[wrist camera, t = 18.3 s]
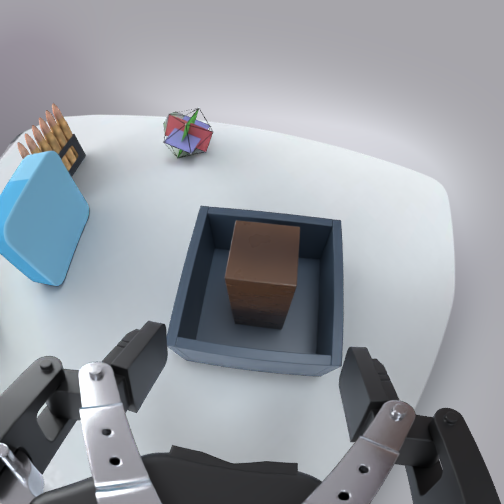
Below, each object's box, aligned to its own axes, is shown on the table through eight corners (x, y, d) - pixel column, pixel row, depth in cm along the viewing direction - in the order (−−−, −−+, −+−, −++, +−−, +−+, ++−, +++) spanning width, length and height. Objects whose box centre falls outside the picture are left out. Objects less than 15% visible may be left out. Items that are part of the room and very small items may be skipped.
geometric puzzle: (232, 129, 39) (196, 89, 34) (214, 159, 35) (172, 115, 31) (199, 147, 43) (165, 112, 38) (181, 176, 40) (142, 139, 35)
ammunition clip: (78, 155, 41) (52, 101, 31) (86, 155, 41) (60, 99, 30) (48, 203, 36) (10, 148, 25) (55, 203, 35) (17, 146, 25)
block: (282, 329, 26) (296, 286, 17) (234, 324, 26) (224, 278, 18) (286, 286, 28) (300, 226, 19) (241, 281, 28) (235, 220, 20)
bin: (325, 257, 31) (341, 220, 25) (320, 376, 24) (341, 366, 18) (210, 245, 31) (200, 205, 26) (185, 360, 25) (164, 344, 19)
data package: (69, 209, 35) (29, 149, 24) (92, 209, 34) (53, 144, 24) (38, 286, 29) (-21, 234, 18) (61, 290, 28) (0, 235, 18)
